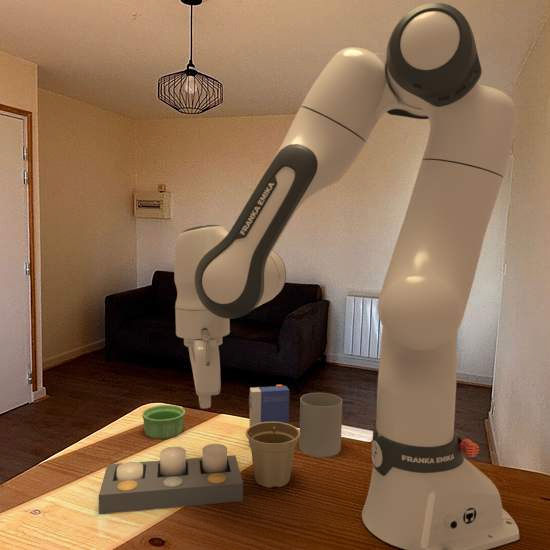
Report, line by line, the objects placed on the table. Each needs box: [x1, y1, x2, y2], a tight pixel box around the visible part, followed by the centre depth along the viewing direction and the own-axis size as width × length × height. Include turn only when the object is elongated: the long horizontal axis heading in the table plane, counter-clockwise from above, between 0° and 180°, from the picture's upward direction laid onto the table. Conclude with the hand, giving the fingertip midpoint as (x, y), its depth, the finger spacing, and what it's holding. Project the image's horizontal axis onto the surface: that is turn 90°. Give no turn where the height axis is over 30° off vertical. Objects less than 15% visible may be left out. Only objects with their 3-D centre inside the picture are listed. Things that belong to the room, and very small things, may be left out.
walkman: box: [248, 384, 290, 449], centre depth 100 cm, size 8×3×12 cm, turn 104°
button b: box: [159, 446, 187, 477], centre depth 83 cm, size 4×4×3 cm
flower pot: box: [245, 422, 300, 489], centre depth 86 cm, size 9×9×9 cm
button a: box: [201, 443, 228, 474], centre depth 84 cm, size 4×4×3 cm
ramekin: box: [141, 404, 186, 440], centre depth 105 cm, size 9×9×4 cm
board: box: [98, 454, 244, 515], centre depth 81 cm, size 22×10×3 cm, turn 102°
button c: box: [117, 461, 143, 481], centre depth 81 cm, size 4×4×3 cm
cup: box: [298, 392, 343, 458], centre depth 99 cm, size 8×8×10 cm
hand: (204, 405), depth 82 cm, fingers closed
